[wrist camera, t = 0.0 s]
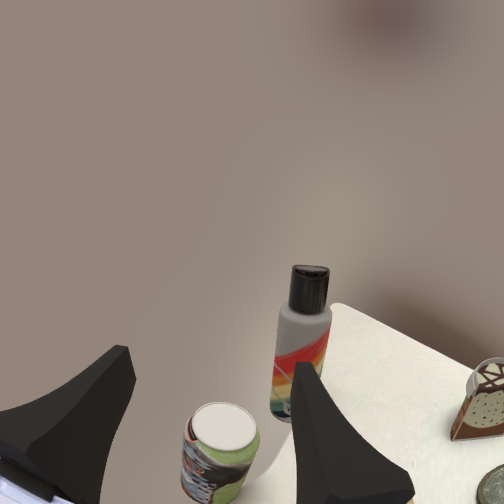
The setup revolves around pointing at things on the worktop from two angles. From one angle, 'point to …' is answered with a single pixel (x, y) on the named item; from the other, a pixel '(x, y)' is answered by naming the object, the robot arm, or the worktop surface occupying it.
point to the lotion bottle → (300, 333)
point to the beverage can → (217, 452)
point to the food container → (482, 404)
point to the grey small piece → (492, 487)
